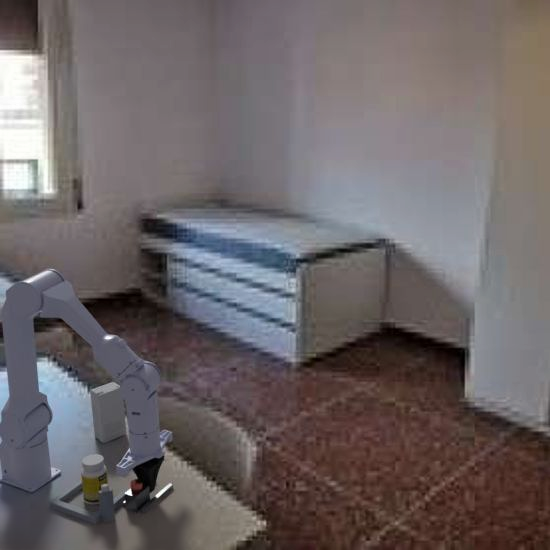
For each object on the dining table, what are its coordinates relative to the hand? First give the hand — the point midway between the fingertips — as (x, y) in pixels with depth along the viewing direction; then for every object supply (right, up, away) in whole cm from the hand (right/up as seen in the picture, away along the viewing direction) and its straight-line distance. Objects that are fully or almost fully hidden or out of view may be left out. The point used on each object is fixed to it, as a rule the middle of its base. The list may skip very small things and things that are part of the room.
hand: (148, 490), depth 130 cm
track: (0, -1, 0) cm, 1 cm away
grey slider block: (-2, -2, -2) cm, 4 cm away
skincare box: (-13, +5, +23) cm, 26 cm away
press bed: (-10, -2, -1) cm, 10 cm away
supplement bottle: (-10, -2, 0) cm, 10 cm away
